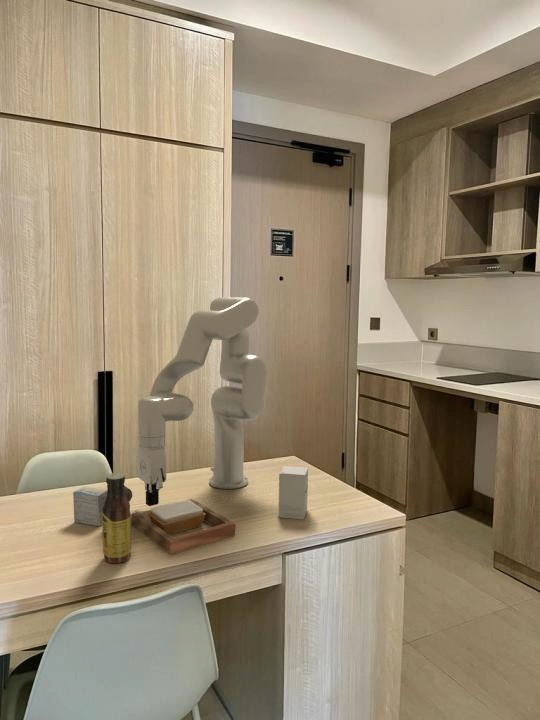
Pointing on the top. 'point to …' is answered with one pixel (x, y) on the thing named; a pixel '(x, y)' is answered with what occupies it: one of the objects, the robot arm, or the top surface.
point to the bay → (188, 541)
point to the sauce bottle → (116, 521)
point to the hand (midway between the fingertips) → (152, 504)
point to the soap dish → (177, 516)
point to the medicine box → (89, 505)
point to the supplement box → (293, 492)
